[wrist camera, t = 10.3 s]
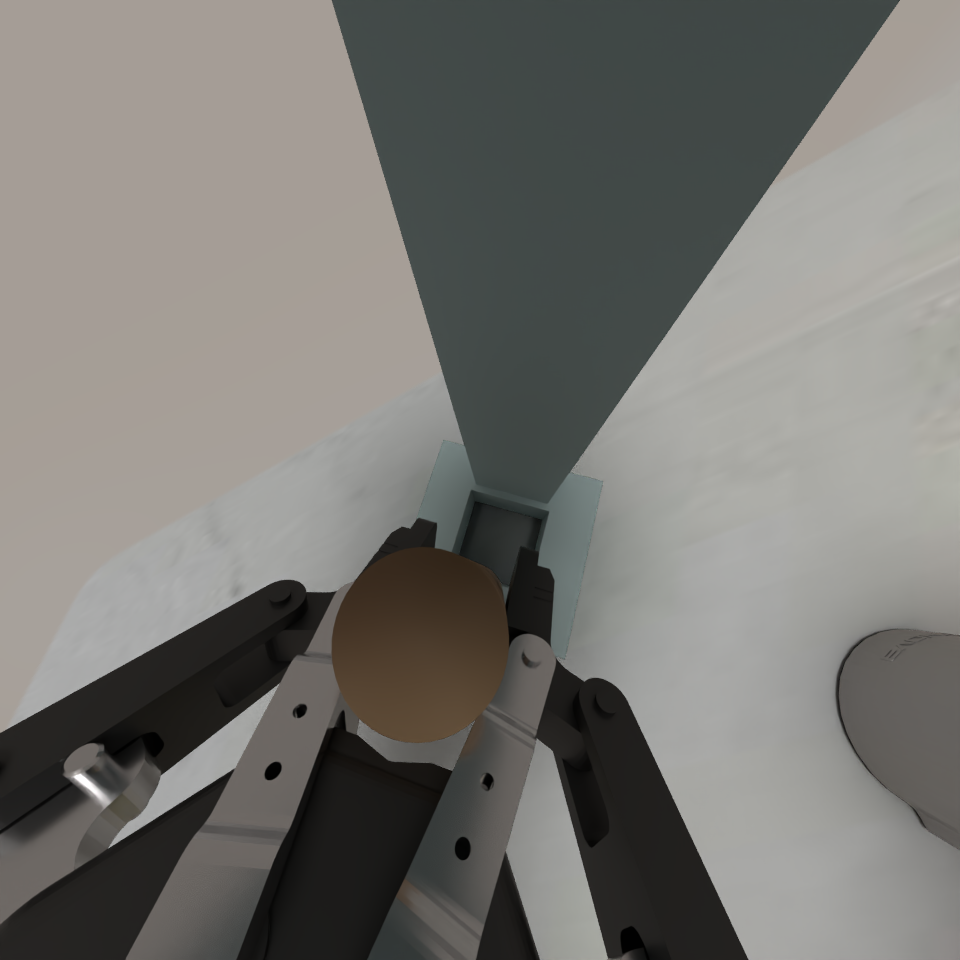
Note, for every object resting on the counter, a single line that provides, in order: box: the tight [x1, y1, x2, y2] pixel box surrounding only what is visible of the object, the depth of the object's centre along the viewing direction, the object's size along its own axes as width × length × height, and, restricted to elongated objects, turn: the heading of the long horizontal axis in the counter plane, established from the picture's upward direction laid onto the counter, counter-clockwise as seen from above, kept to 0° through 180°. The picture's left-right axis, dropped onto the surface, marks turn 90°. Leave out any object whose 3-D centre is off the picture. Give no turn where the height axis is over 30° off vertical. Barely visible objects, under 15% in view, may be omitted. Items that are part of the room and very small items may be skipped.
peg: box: [331, 547, 509, 743], centre depth 12 cm, size 3×3×12 cm
